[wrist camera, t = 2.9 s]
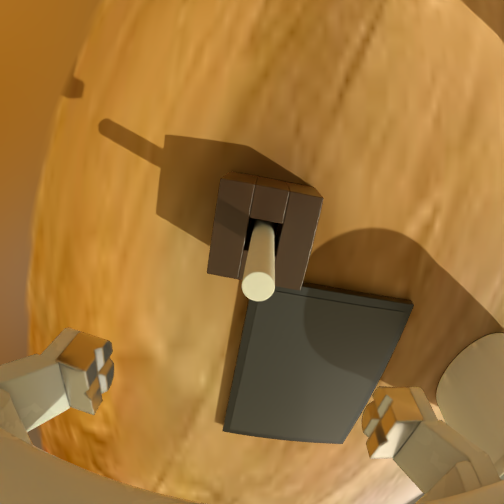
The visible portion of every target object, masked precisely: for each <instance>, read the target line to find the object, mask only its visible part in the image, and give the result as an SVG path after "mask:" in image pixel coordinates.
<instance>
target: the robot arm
mask: <svg viewBox="0 0 504 504" xmlns="http://www.w3.org/2000/svg"><path fill="white" fill-rule="evenodd" d="M112 352H113V350H112V343H111V342H110V341H109V340H105V339H102V338H99V337H96V336H93V335H90V334H87V333H84V332H80V331H78V330H75V329H72V328H69V327H68V328H65V329H64V330H63V331H62V332H61V333H60V334H59V335H58V336H57V337H56V338H55V340H54V341H53V342H52V343H51V344H50V345H49V346H48V347H47V348H46V349H45V351H44V352H43V353H42V354H41V355H38V354H34V355H31V356H28V357H25V358H22V359H19V360H15V361H12V362H9V363H6V364H3V365H0V504H206V503H200V502H195V501H190V500H185V499H180V498H176V497H172V496H167V495H163V494H159V493H155V492H152V491H148V490H145V489H141V488H138V487H134V486H131V485H128V484H125V483H122V482H118V481H116V480H113V479H110V478H107V477H104V476H101V475H99V474H96V473H93V472H91V471H88V470H86V469H83V468H81V467H78V466H76V465H73V464H71V463H69V462H67V461H64V460H62V459H60V458H58V457H55V456H53V455H51V454H49V453H47V452H45V451H43V450H41V449H39V448H37V447H35V446H33V443H32V441H31V439H30V437H29V435H28V434H27V432H28V431H30V430H32V429H34V428H35V427H37V426H39V425H41V424H43V423H44V422H46V421H48V420H50V419H51V418H53V417H55V416H57V415H58V414H60V413H62V412H64V411H65V410H67V409H69V408H70V407H72V408H75V409H78V410H81V411H83V412H86V413H89V414H92V415H94V414H95V413H96V411H97V409H98V407H99V406H100V404H101V402H102V395H101V394H102V393H104V392H106V391H108V390H109V388H110V386H111V384H112V380H113V377H114V363H113V361H112V360H111V359H110V355H111V354H112ZM372 396H373V399H374V401H372V402H371V403H370V404H368V405H367V406H366V408H365V410H364V412H363V416H362V429H363V433H364V434H366V435H367V436H368V437H369V438H368V440H367V442H366V445H367V449H368V453H369V457H370V459H380V458H393V460H394V461H395V462H396V463H397V464H398V466H399V467H400V468H401V469H402V470H403V471H404V472H405V473H406V474H407V476H408V477H409V478H410V479H411V480H412V481H413V482H414V483H415V484H416V485H417V487H418V488H419V489H420V490H421V491H422V492H423V493H424V494H425V495H424V496H423V497H422V498H420V499H419V500H418V501H417V502H416V503H415V504H504V480H501V479H500V477H499V475H498V473H497V471H496V469H495V467H494V465H493V462H492V460H491V458H490V456H489V455H488V454H487V453H486V452H484V451H483V450H481V449H480V448H479V447H477V446H476V445H475V444H473V443H472V442H470V441H469V440H468V439H466V438H465V437H464V436H462V435H461V434H459V433H458V432H457V431H455V430H454V429H453V428H451V427H450V426H449V425H447V424H446V423H445V422H443V421H442V420H439V421H438V419H437V417H436V415H435V413H434V411H433V409H432V407H431V405H430V403H429V401H428V399H427V397H426V395H425V393H424V391H423V390H422V389H421V388H420V387H381V386H379V387H378V388H377V389H376V390H375V392H374V393H373V395H372ZM69 406H70V407H69Z"/></svg>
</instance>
